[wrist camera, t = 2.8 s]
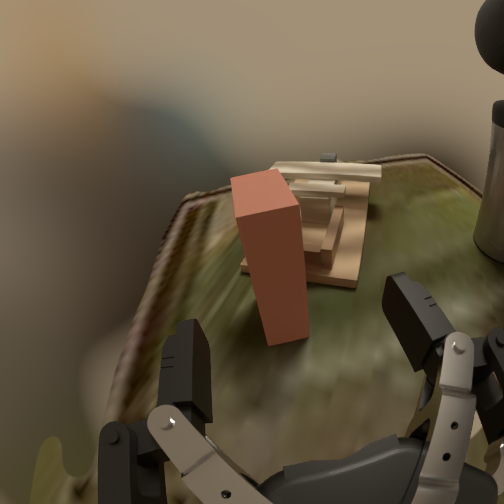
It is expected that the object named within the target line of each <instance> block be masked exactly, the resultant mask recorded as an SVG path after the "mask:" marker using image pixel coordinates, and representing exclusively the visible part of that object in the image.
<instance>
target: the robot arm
mask: <svg viewBox="0 0 504 504" xmlns="http://www.w3.org/2000/svg"><path fill="white" fill-rule="evenodd" d="M475 41H476V45H477V48H478V51H479V53H480V55H481V57H482V58H483V60H484V61H485V62H486V63H487V64H488V65H489V66H490V67H491V68H492V69H494V70H496V71H498V72H500V73H502V74H504V0H486V1H485V2H484V3H483V5H482V6H481V8H480V10H479V12H478V15H477V18H476V23H475ZM492 109H493V110H492V129H491V143H490V153H489V162H488V168H487V175H486V181H485V187H484V192H483V197H482V202H481V206H480V210H479V214H478V219H477V223H476V227H475V230H474V234H473V235H474V240H475V242H476V244H477V245H478V247H479V248H480V249H481V250H482V251H483V252H484V253H485V254H487V255H488V256H489V257H491V258H493V259H495V260H497V261H499V262H502V263H504V100H499V101H496V102H495V103H494V104H493V108H492ZM382 309H383V312H384V314H385V316H386V318H387V320H388V321H389V323H390V325H391V327H392V329H393V331H394V332H395V334H396V336H397V338H398V340H399V342H400V344H401V346H402V348H403V350H404V352H405V353H406V355H407V357H408V359H409V361H410V363H411V365H412V367H413V369H414V372H417V371H419V370H422V369H424V371H425V375H424V378H423V382H422V387H421V391H420V395H419V399H418V403H417V407H416V411H415V414H414V416H413V418H412V420H411V422H410V424H409V426H408V429H407V431H406V434H405V437H399V438H397V435H396V434H393V435H391V436H389V437H386V438H383V439H381V440H378V441H376V442H373V443H370V444H369V445H367V446H365V447H364V448H362V449H361V450H359V451H357V452H356V453H354V454H352V455H351V456H349V457H347V458H345V459H341V460H320V461H308V462H304V463H299V464H294V465H289V466H283V471H280V472H278V473H276V474H274V475H272V476H271V477H269V478H268V479H267V480H265V481H264V482H263V483H262V484H261V485H260V484H259V483H258V482H257V481H256V480H254V479H253V478H252V477H251V476H250V475H249V474H247V473H246V472H245V471H244V470H243V469H242V468H240V467H239V466H238V465H237V464H236V463H234V462H233V461H232V460H231V459H230V458H229V457H228V456H227V455H226V454H225V453H224V452H223V451H222V450H221V449H220V448H219V447H218V446H217V445H216V444H215V443H214V442H213V441H212V440H211V439H210V438H209V437H208V436H207V435H206V434H205V423H213V416H212V394H211V363H210V348H209V344H208V341H207V338H206V336H205V334H204V332H203V330H202V328H201V326H200V324H199V322H198V320H197V319H190V320H184V321H178V323H177V329H176V335H171V336H168V338H167V340H166V342H165V343H164V345H163V349H162V360H161V369H160V378H159V389H158V401H157V406H156V408H155V409H154V410H153V411H152V412H151V413H150V415H149V417H147V418H146V419H144V420H141V421H138V422H135V423H132V424H129V425H126V426H125V425H124V424H122V423H120V422H116V421H114V422H109V423H107V424H106V425H105V426H104V427H103V428H102V430H101V432H100V436H99V451H98V504H167V496H166V485H165V473H164V462H166V461H169V460H171V461H172V462H173V463H174V465H175V466H176V467H177V468H178V469H179V471H180V472H181V474H182V475H181V477H182V479H183V481H184V482H185V484H186V485H187V486H188V487H189V488H190V490H191V491H192V492H193V493H194V494H195V495H196V496H197V497H198V498H199V499H200V500H201V501H202V502H203V503H204V504H496V502H497V498H498V496H499V495H500V494H501V493H503V492H504V329H502V328H498V327H497V328H493V329H492V330H491V331H490V332H489V334H488V335H487V337H479V338H470V337H469V336H468V335H466V334H465V333H462V332H456V331H455V329H454V328H453V326H452V325H451V323H450V322H449V320H448V319H447V317H446V316H445V314H444V313H443V312H442V310H441V309H440V307H439V306H438V305H437V304H436V302H435V300H434V299H433V298H432V297H431V295H430V293H429V292H428V290H427V289H426V288H425V287H424V286H423V285H421V284H420V283H418V282H417V281H413V282H412V281H411V280H410V278H409V277H408V276H407V274H406V273H404V272H401V273H397V274H394V275H390V276H388V277H387V278H386V283H385V288H384V293H383V298H382ZM493 371H494V372H495V374H496V377H497V379H498V381H499V383H500V385H501V387H502V390H503V395H502V393H501V390H500V388H499V386H498V384H497V382H496V379H495V377H494V375H493V373H492V372H493ZM475 408H476V410H477V413H478V415H479V418H480V421H481V424H482V426H483V429H484V432H485V435H486V438H487V441H488V444H489V447H488V450H487V453H486V454H485V456H484V462H485V463H487V467H486V471H485V472H484V471H482V470H480V469H478V468H476V467H473V466H471V465H469V464H467V463H465V462H464V460H465V457H466V453H467V449H468V444H469V440H470V435H471V431H472V425H473V419H474V414H475Z"/></svg>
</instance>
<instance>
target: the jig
mask: <svg viewBox="0 0 504 504" xmlns="http://www.w3.org/2000/svg"><path fill="white" fill-rule="evenodd" d="M276 168H278V170H279V172H280V173H281V175H282V177H283V178H291V179H296V180H295V182H294V183H290V184H289V188H290V190H291V191H292V193H293V195H294V196H295V198H296V200H297V201H298V203H299V207H300V217H301V226H302V237H303V248H304V259H305V272H306V282H314V283H321V284H328V285H335V286H343V287H350V288H356V287H357V281H358V276H359V270H360V264H361V257H362V251H363V244H364V236H365V228H366V220H367V210H368V200H369V189H370V182H371V183H381V165H371V164H355V163H342V161H340V160H339V159H337V154H334V153H333V154H332V153H323V154H322V156H321V158H320V161H319V162H276V163H275V164H274V165H273V166H272V167H271V168H270V169H269V170H271V169H276ZM240 266H241V270H242V272H246V273H249V269H248V265H247V261H246V257H245V258H244V259H243V261H242V262H241V264H240Z"/></svg>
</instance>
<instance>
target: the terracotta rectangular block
mask: <svg viewBox="0 0 504 504" xmlns="http://www.w3.org/2000/svg"><path fill="white" fill-rule="evenodd" d="M231 185H232V193H233V201H234V209H235V216H236V221H237V225H238V229H239V233H240V237H241V241H242V245H243V249H244V253H245V257H246V261H247V265H248V269H249V273H250V277H251V281H252V285H253V289H254V293H255V297H256V300H257V304H258V308H259V312H260V316H261V320H262V324H263V328H264V332H265V336H266V339H267V343H268V346H272V345H277V344H281V343H286V342H290V341H295V340H299V339H303V338H307V337H309V319H308V301H307V286H306V272H305V259H304V248H303V237H302V226H301V217H300V207H299V203H298V201H297V200H296V198H295V196H294V195H293V193H292V191H291V190H290V188H289V186H288V185H287V183H286V181H285V180H284V178H283V177H282V175H281V173H280V172H279V170H278V168H276V169H271V170H266V171H261V172H256V173H252V174H247V175H243V176H238V177H233V178H231Z"/></svg>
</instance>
